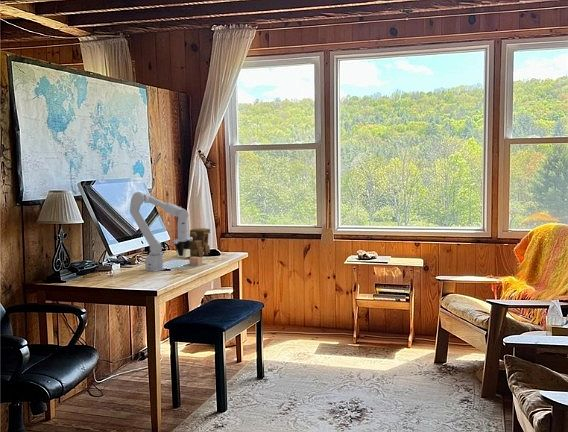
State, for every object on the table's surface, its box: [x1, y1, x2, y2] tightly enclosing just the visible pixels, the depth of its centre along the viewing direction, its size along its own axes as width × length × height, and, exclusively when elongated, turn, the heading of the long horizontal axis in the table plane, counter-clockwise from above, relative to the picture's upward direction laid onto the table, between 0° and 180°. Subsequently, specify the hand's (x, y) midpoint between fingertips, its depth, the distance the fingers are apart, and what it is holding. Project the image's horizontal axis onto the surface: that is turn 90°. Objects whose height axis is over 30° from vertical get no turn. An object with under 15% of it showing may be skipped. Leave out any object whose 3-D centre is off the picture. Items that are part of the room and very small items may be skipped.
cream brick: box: [176, 249, 191, 258], centre depth 319 cm, size 4×6×4 cm, turn 62°
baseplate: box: [170, 256, 208, 271], centre depth 325 cm, size 21×11×5 cm, turn 152°
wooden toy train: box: [186, 227, 211, 258], centre depth 362 cm, size 20×11×17 cm, turn 164°
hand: (183, 255), depth 319 cm, fingers closed on cream brick, 4 cm apart
